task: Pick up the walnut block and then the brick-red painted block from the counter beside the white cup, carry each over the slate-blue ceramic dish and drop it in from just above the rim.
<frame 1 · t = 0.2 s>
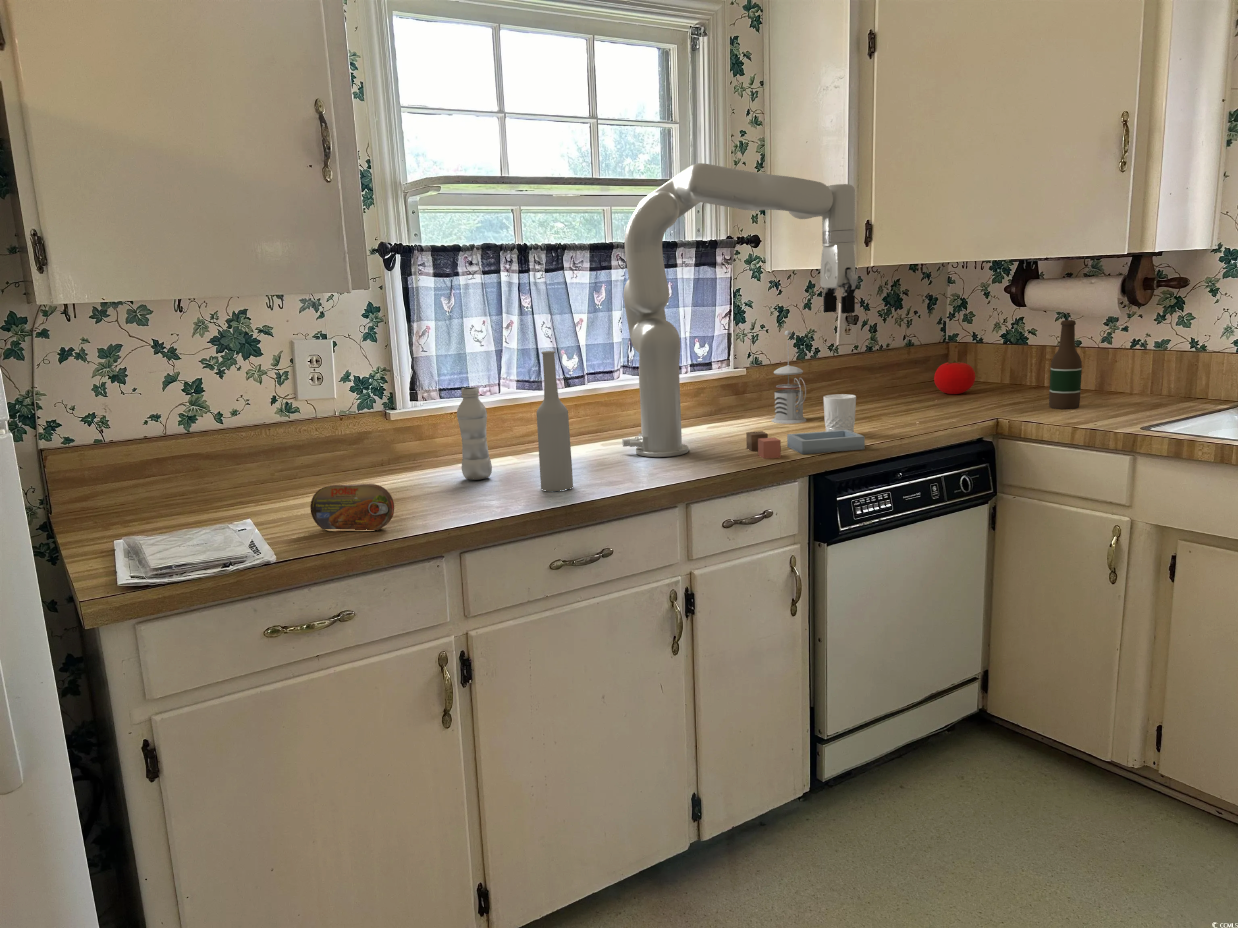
hand: (838, 312, 218), 31 cm above the countertop, tool pointing down, fingers open, 9 cm apart
beer bottle: (1063, 408, 252), on the countertop
bottle: (557, 489, 186), on the countertop
tomato: (954, 394, 289), on the countertop
tin: (355, 531, 162), on the countertop
block walnut: (757, 449, 216), on the countertop
white cup: (839, 436, 227), on the countertop
block red: (769, 456, 207), on the countertop
dish: (825, 447, 213), on the countertop
french press: (790, 421, 253), on the countertop
plastic bottle: (477, 480, 198), on the countertop
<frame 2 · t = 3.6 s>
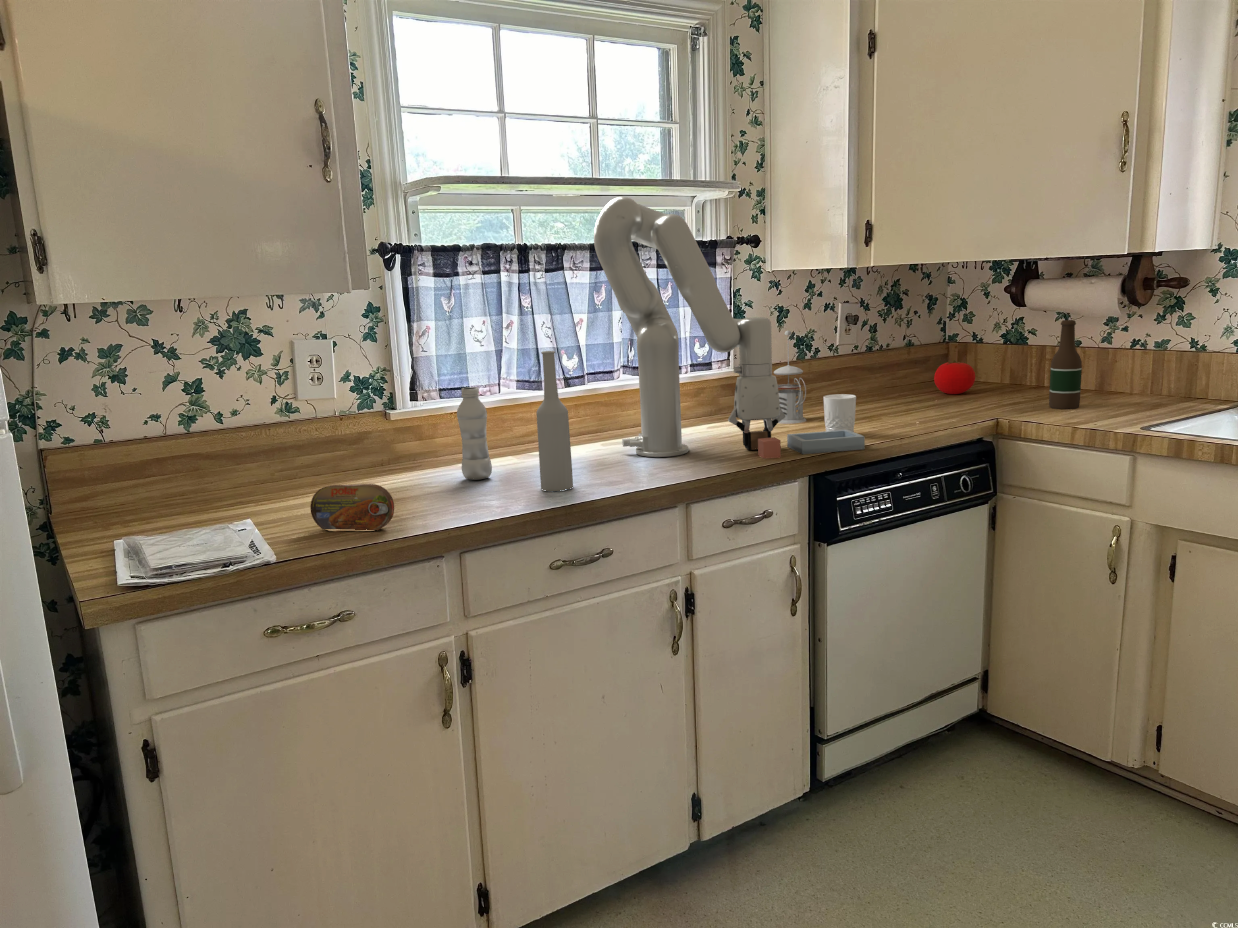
hand: (757, 447, 216), 0 cm above the countertop, tool pointing down, fingers closed on block walnut, 3 cm apart
block walnut: (757, 448, 216), on the countertop, tilted 6°, touching gripper
everything else where it was.
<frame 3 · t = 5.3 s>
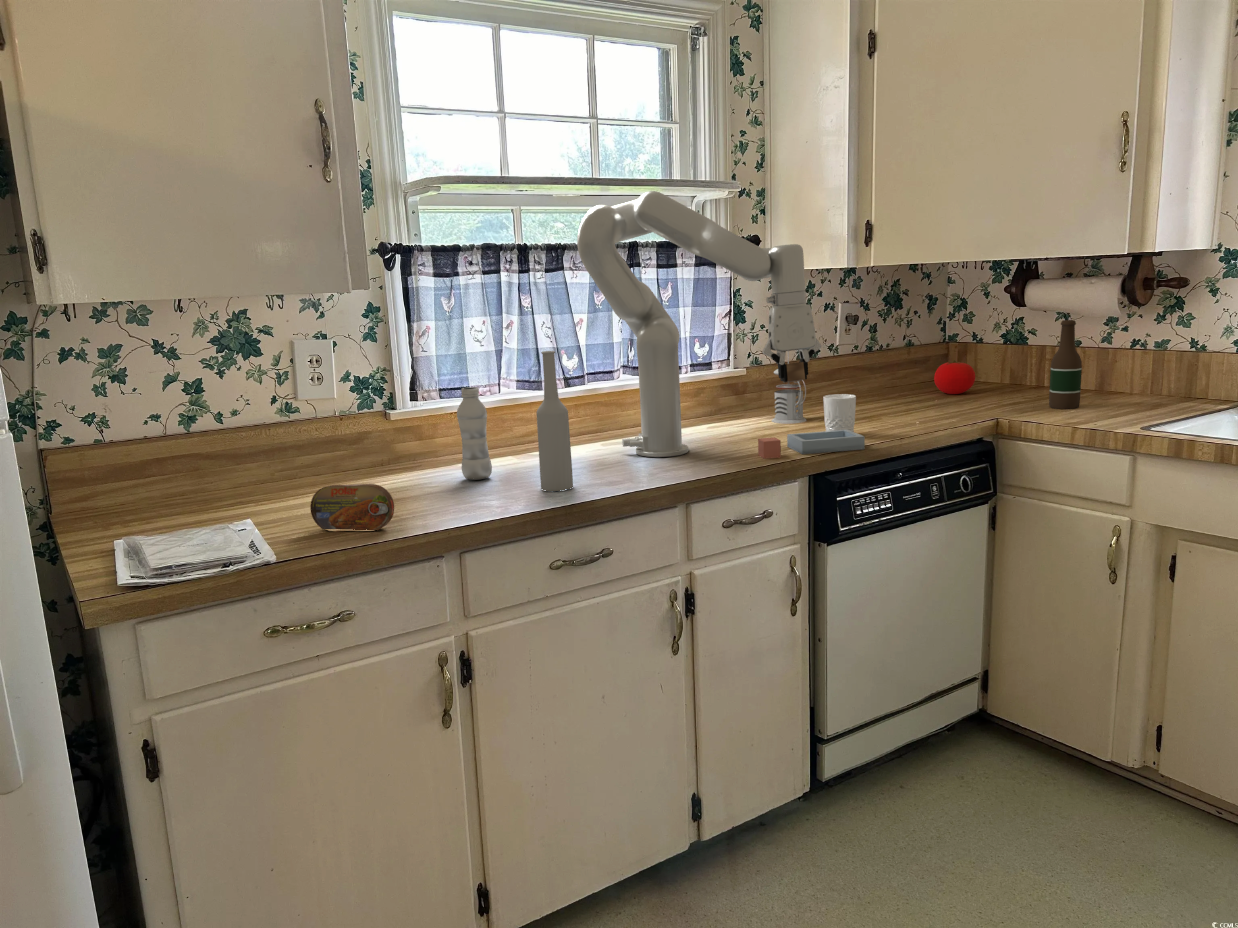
hand: (793, 379, 210), 16 cm above the countertop, tool pointing down, fingers closed on block walnut, 4 cm apart
block walnut: (794, 381, 210), point 16 cm above the countertop, tilted 12°, touching gripper
everything else where it was.
when the fingers open (4 cm above the countertop, at t = 7.1 s): block walnut drops 3 cm, resting on dish.
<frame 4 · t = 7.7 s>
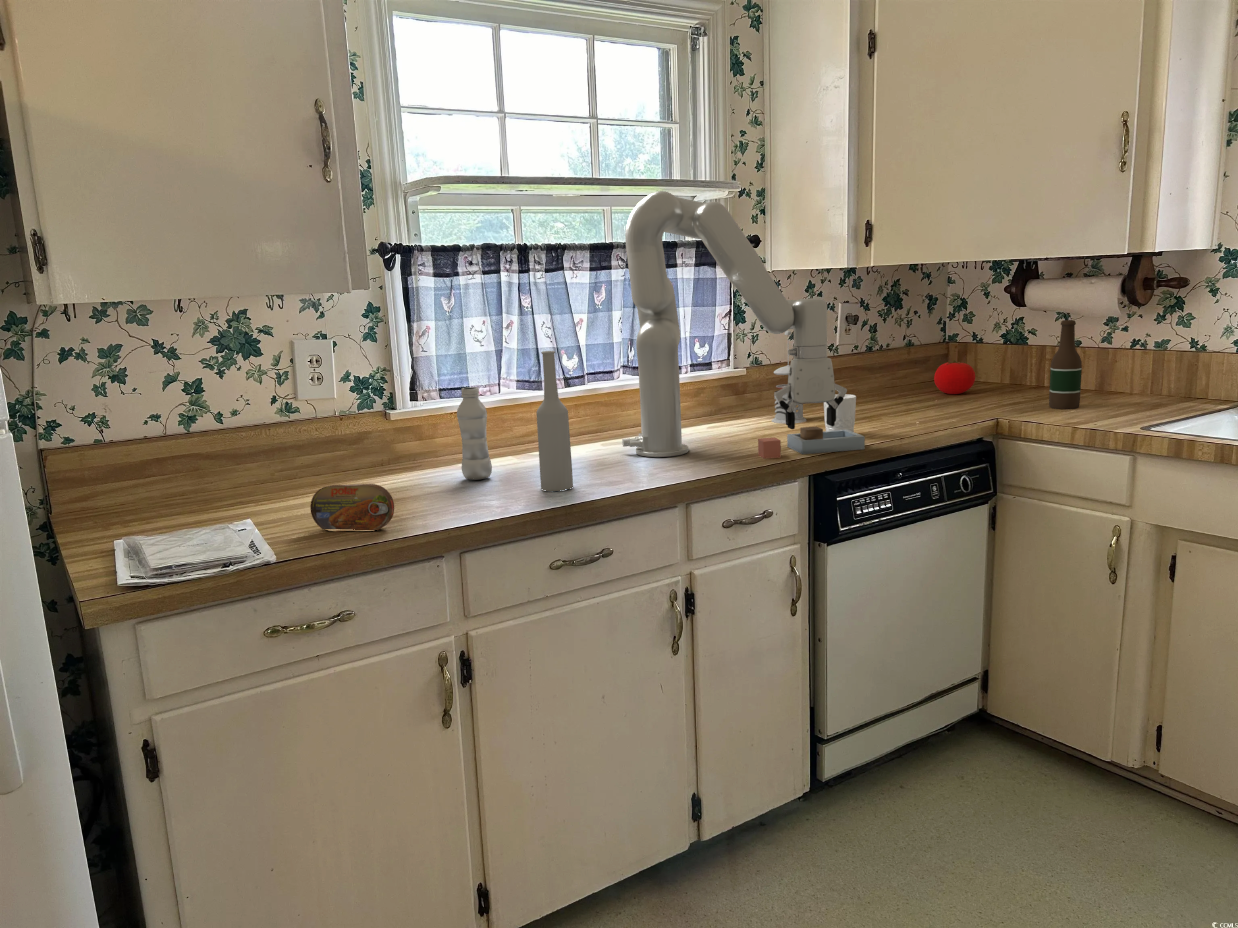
hand: (810, 426, 212), 5 cm above the countertop, tool pointing down, fingers open, 9 cm apart
block walnut: (811, 445, 212), point 1 cm above the countertop, touching dish
everything else where it was.
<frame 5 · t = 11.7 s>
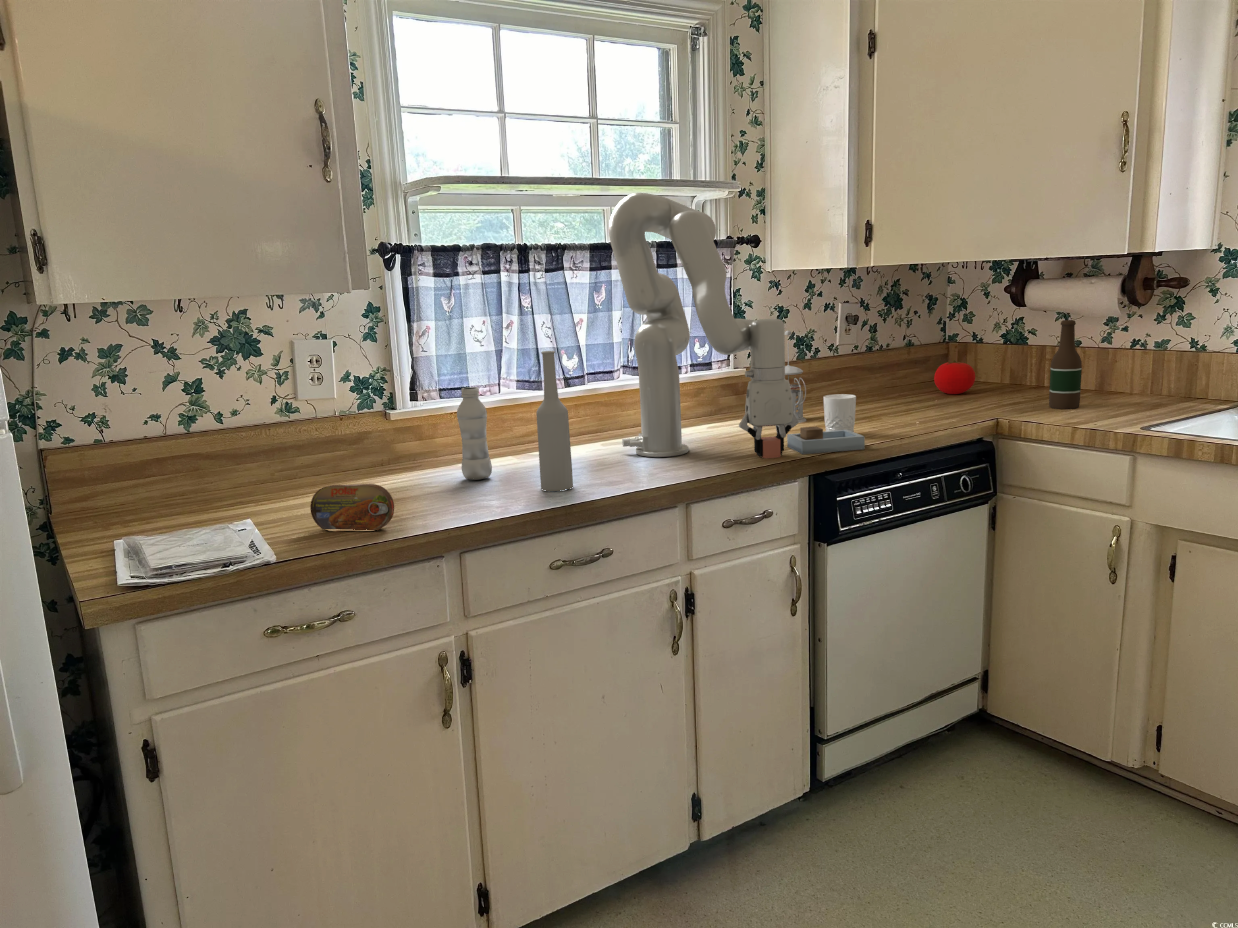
hand: (769, 454, 207), 0 cm above the countertop, tool pointing down, fingers closed on block red, 3 cm apart
block red: (769, 455, 207), on the countertop, touching gripper
everything else where it was.
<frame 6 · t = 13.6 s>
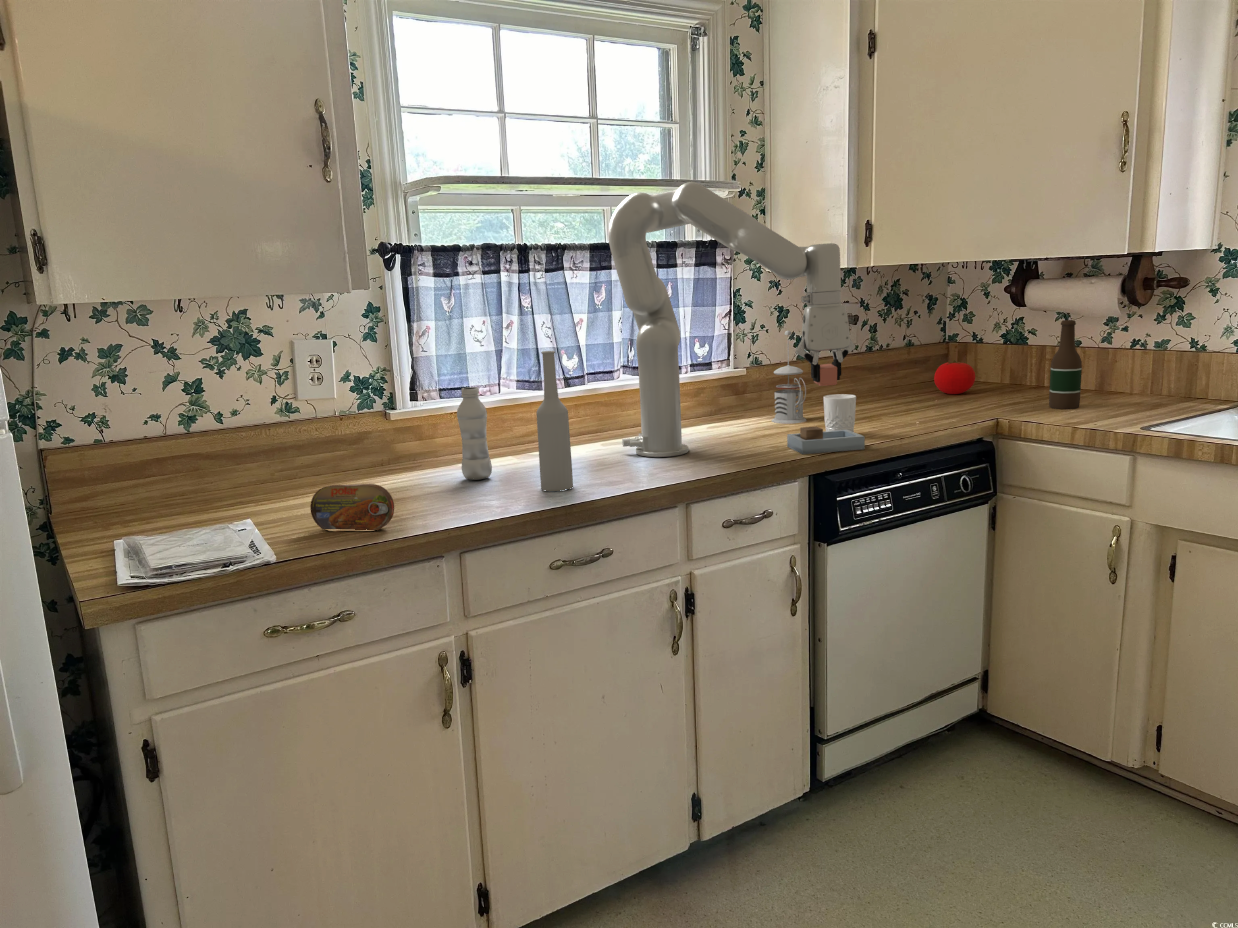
hand: (826, 379, 209), 16 cm above the countertop, tool pointing down, fingers closed on block red, 4 cm apart
block red: (825, 383, 209), point 15 cm above the countertop, tilted 7°, touching gripper
everything else where it was.
when the fingers open (4 cm above the countertop, at t = 15.4 s): block red drops 2 cm, resting on dish.
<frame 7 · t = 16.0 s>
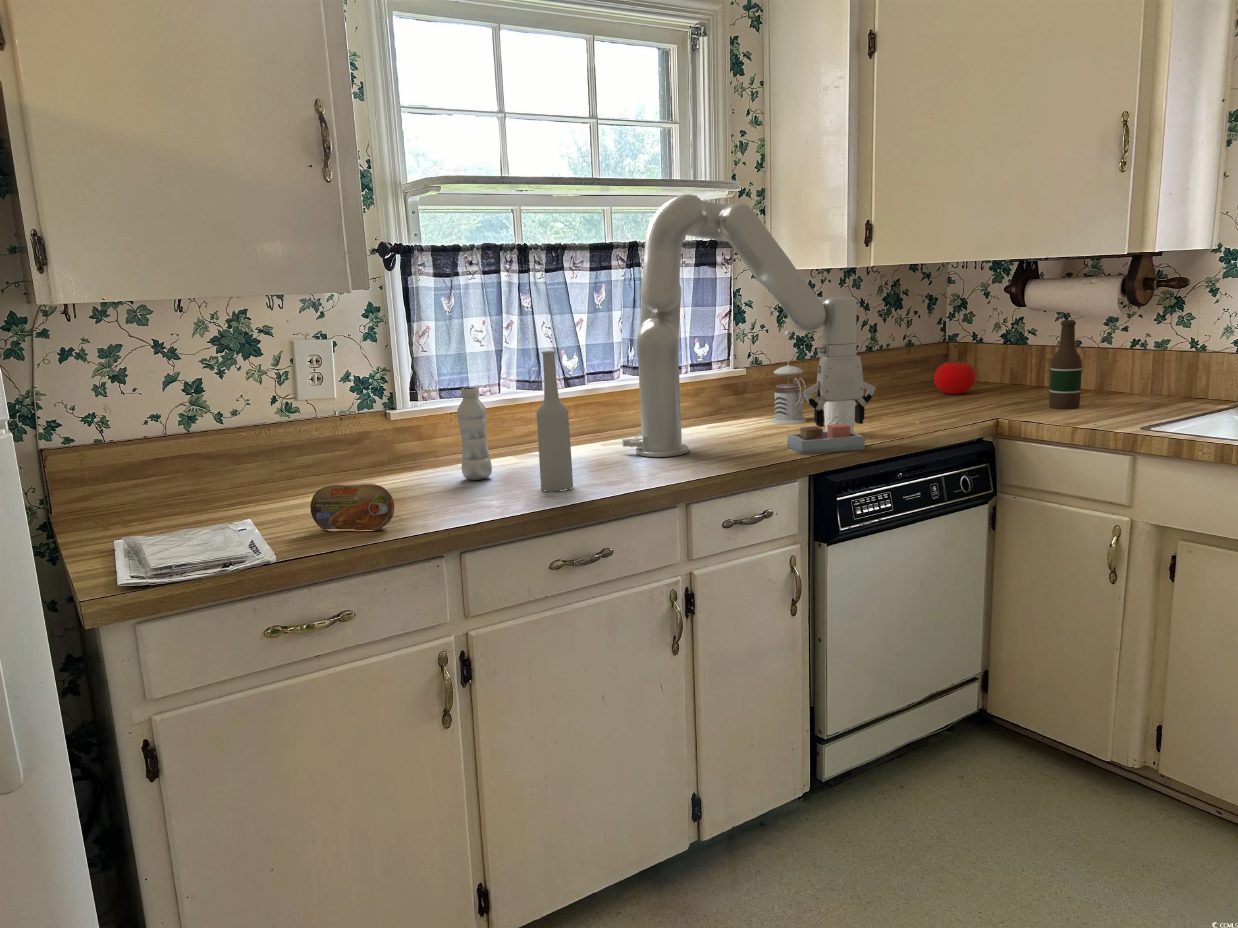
hand: (839, 424, 213), 5 cm above the countertop, tool pointing down, fingers open, 9 cm apart
block red: (838, 442, 214), point 1 cm above the countertop, touching dish
everything else where it was.
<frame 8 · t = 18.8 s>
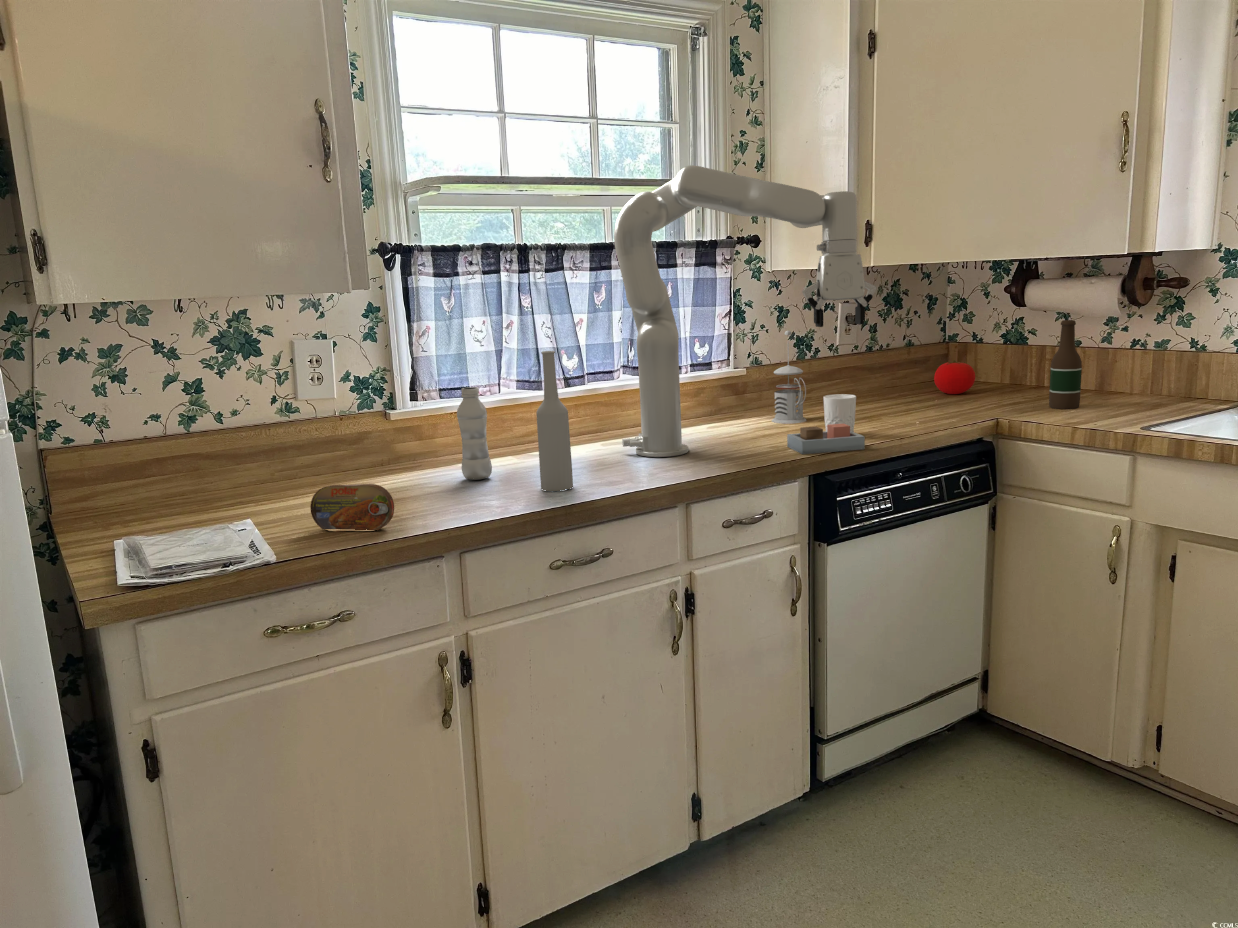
hand: (839, 325, 208), 28 cm above the countertop, tool pointing down, fingers open, 9 cm apart
nothing on the countertop moved.
at the end: block walnut inside the target area on the dish (3.5 cm from its centre), point 1.0 cm above the dish's base; block red inside the target area on the dish (3.6 cm from its centre), point 1.0 cm above the dish's base; the gripper is holding nothing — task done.
